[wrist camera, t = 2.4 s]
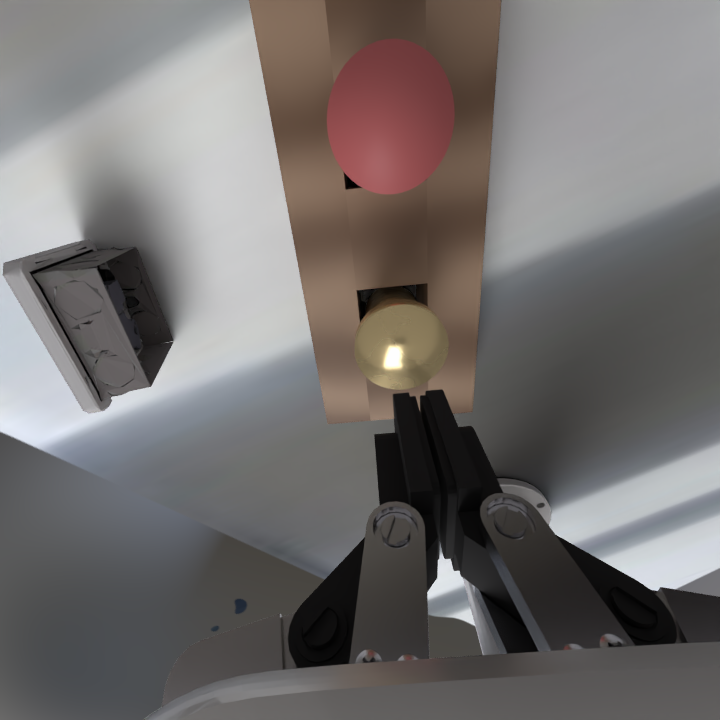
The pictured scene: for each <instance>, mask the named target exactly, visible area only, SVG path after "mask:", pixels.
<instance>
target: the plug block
mask: <svg viewBox="0 0 720 720" xmlns="http://www.w3.org/2000/svg"><path fill="white" fill-rule="evenodd" d="M249 3H250V8H251V13H252V19H253V24H254V30H255V35H256V40H257V46H258V51H259V57H260V62H261V67H262V73H263V78H264V83H265V89H266V94H267V100H268V105H269V110H270V116H271V121H272V127H273V132H274V137H275V143H276V148H277V153H278V159H279V164H280V170H281V175H282V180H283V186H284V191H285V197H286V202H287V207H288V213H289V218H290V223H291V229H292V234H293V240H294V245H295V250H296V256H297V261H298V267H299V272H300V277H301V283H302V288H303V293H304V299H305V304H306V310H307V315H308V320H309V326H310V331H311V337H312V342H313V347H314V353H315V358H316V363H317V369H318V374H319V380H320V385H321V390H322V396H323V401H324V407H325V412H326V417H327V423H328V424H336V423H348V422H359V421H371V420H383V419H394V410H393V394H395V393H406V392H409V395H410V396H416V399H417V403H418V407H419V410H420V395H425V392H426V391H428V390H439V389H442V390H443V391H444V393H445V396H446V398H447V401H448V403H449V406H450V408H451V411H452V413H453V414H455V413H467V412H472V411H473V397H474V382H475V368H476V354H477V340H478V325H479V311H480V297H481V283H482V268H483V254H484V240H485V226H486V211H487V197H488V183H489V169H490V154H491V140H492V126H493V111H494V97H495V83H496V69H497V54H498V40H499V26H500V12H501V0H249ZM385 39H402V40H407V41H410V42H413V43H415V44H417V45H419V46H421V47H423V48H424V49H425V50H427V51H428V52H429V53H430V54H431V55H432V56H433V57H434V58H435V59H436V60H437V61H438V63H439V64H440V65H441V67H442V68H443V70H444V72H445V74H446V76H447V78H448V81H449V83H450V86H451V90H452V94H453V99H454V111H455V117H454V128H453V133H452V137H451V141H450V144H449V147H448V149H447V151H446V154H445V156H444V158H443V159H442V161H441V163H440V164H439V166H438V167H437V168H436V170H435V171H434V172H433V173H432V174H431V175H430V176H429V177H428V178H427V179H426V180H425V181H424V182H422V183H421V184H419V185H418V186H416V187H414V188H412V189H410V190H408V191H405V192H402V193H397V194H378V193H374V192H371V191H368V190H366V189H364V188H362V187H351V188H348V184H347V175H346V174H345V173H344V171H343V170H342V169H341V167H340V166H339V164H338V162H337V160H336V159H335V156H334V154H333V152H332V149H331V145H330V142H329V137H328V131H327V109H328V102H329V98H330V94H331V90H332V88H333V85H334V83H335V80H336V78H337V76H338V75H339V73H340V71H341V70H342V68H343V67H344V65H345V64H346V63H347V62H348V61H349V59H350V58H351V57H352V56H353V55H354V54H356V53H357V52H358V51H359V50H361V49H362V48H364V47H366V46H367V45H369V44H371V43H374V42H376V41H380V40H385ZM414 284H416V301H417V302H420V303H422V304H424V305H426V306H427V307H429V308H430V309H431V310H432V311H433V312H434V313H435V314H436V315H437V316H438V318H439V319H440V321H441V323H442V324H443V326H444V328H445V330H446V333H447V336H448V342H449V348H448V354H447V358H446V360H445V362H444V364H443V366H442V368H441V369H440V370H439V372H438V373H437V374H436V375H435V376H434V377H433V378H431V379H430V380H429V381H427V382H425V383H424V384H422V385H419V386H417V387H414V388H410V389H403V390H395V389H388V388H384V387H381V386H379V385H377V384H375V383H373V382H372V381H370V380H369V379H368V378H367V377H366V376H365V375H364V374H363V373H362V372H361V370H360V368H359V367H358V365H357V362H356V358H355V335H356V331H357V328H358V326H359V324H360V322H361V320H362V316H361V307H360V297H359V290H365V289H375V288H385V287H395V286H404V285H414Z"/></svg>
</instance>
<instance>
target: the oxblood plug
mask: <svg viewBox="0 0 720 720" xmlns="http://www.w3.org/2000/svg"><path fill="white" fill-rule="evenodd" d="M454 117H455V111H454V99H453V94H452V90H451V86H450V83H449V81H448V78H447V76H446V74H445V72H444V70H443V68H442V67H441V65H440V64H439V63H438V61H437V60H436V59H435V58H434V57H433V56H432V55H431V54H430V53H429V52H428V51H427V50H425V49H424V48H423V47H421V46H419V45H417V44H415V43H413V42H410V41H407V40H402V39H385V40H380V41H376V42H374V43H371V44H369V45H367V46H366V47H364V48H362V49H361V50H359V51H358V52H357V53H356V54H354V55H353V56H352V57H351V58H350V59H349V61H348V62H347V63H346V64H345V65H344V67H343V68H342V70H341V71H340V73H339V75H338V76H337V78H336V80H335V83H334V85H333V88H332V90H331V94H330V98H329V102H328V109H327V131H328V137H329V142H330V145H331V149H332V152H333V154H334V156H335V159H336V160H337V162H338V164H339V166H340V167H341V169H342V170H343V171H344V173H345V174H346V175H347V176H348V177H349V178H350V179H351V180H352V181H353V182H355V183H356V184H357V185H359V186H360V187H362V188H364V189H366V190H368V191H371V192H374V193H378V194H397V193H402V192H405V191H408V190H410V189H412V188H414V187H416V186H418V185H419V184H421V183H422V182H424V181H425V180H426V179H427V178H428V177H429V176H430V175H431V174H432V173H433V172H434V171H435V170H436V168H437V167H438V166H439V164H440V163H441V161H442V159H443V158H444V156H445V154H446V151H447V149H448V147H449V144H450V141H451V137H452V133H453V128H454Z"/></svg>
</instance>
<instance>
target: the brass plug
mask: <svg viewBox="0 0 720 720" xmlns="http://www.w3.org/2000/svg"><path fill="white" fill-rule="evenodd" d="M448 348H449V342H448V336H447V333H446V330H445V328H444V326H443V324H442V323H441V321H440V319H439V318H438V316H437V315H436V314H435V313H434V312H433V311H432V310H431V309H430V308H429V307H427V306H426V305H424V304H422V303H420V302H417V301H416V300H415V298H414V296H413V295H412V293H411V292H410V291H409V290H407V289H406V288H404V287H401V286H395V287H385V288H379V289H377V290H376V291H375V292H374V293H373V294H372V295H371V296H370V297H369V299H368V301H367V304H366V315H365V316H364V318H363V319H362V320H361V322H360V324H359V326H358V328H357V331H356V335H355V358H356V362H357V365H358V367H359V368H360V370H361V372H362V373H363V374H364V375H365V376H366V377H367V378H368V379H369V380H370V381H372V382H373V383H375V384H377V385H379V386H381V387H384V388H388V389H395V390H403V389H410V388H414V387H417V386H419V385H422V384H424V383H425V382H427V381H429V380H430V379H431V378H433V377H434V376H435V375H436V374H437V373H438V372H439V370H440V369H441V368H442V366H443V364H444V362H445V360H446V358H447V354H448Z"/></svg>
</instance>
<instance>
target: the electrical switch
mask: <svg viewBox="0 0 720 720" xmlns="http://www.w3.org/2000/svg"><path fill="white" fill-rule="evenodd" d="M118 261H120V262H119V263H117V262H118ZM135 267H136V268H135ZM109 268H110V270H109ZM138 269H139V270H138ZM3 276H4V278H5V279H6V281H7V283H8V285H9V286H10V288H11V290H12V291H13V293H14V295H15V296H16V298H17V300H18V301H19V303H20V305H21V306H22V308H23V310H24V312H25V313H26V315H27V317H28V318H29V320H30V322H31V323H32V325H33V327H34V328H35V330H36V332H37V333H38V335H39V337H40V339H41V340H42V342H43V344H44V345H45V347H46V349H47V350H48V352H49V354H50V355H51V357H52V359H53V360H54V362H55V364H56V366H57V367H58V369H59V371H60V372H61V374H62V376H63V377H64V379H65V381H66V382H67V384H68V386H69V387H70V389H71V391H72V393H73V394H74V396H75V398H76V399H77V401H78V403H79V404H80V406H81V408H82V409H83V411H85V412H87V413H95V412H100V411H104V410H105V409H107V408H108V407H109V405H110V403H111V401H112V400H111V397H112V396H118V395H122V394H125V393H127V392H129V391H132V390H137V389H142V388H147V387H151V386H152V384H153V382H154V380H155V378H156V376H157V374H158V372H159V370H160V368H161V366H162V364H163V362H164V360H165V358H166V356H167V354H168V352H169V350H170V348H171V346H172V344H173V342H170V341H173V340H172V337H171V335H170V332H169V329H168V327H167V324H166V322H165V319H164V317H163V314H162V312H161V309H160V307H159V304H158V301H157V299H156V296H155V294H154V291H153V289H152V286H151V284H150V281H149V278H148V276H147V273H146V271H145V268H144V266H143V263H142V261H141V258H140V255H139V253H138V250H137V248H135V247H133V248H126V249H116V248H114V247H113V248H111V249H107V250H99V251H98V250H97V248H96V246H95V244H93V243H92V242H91V241H90V240H84V241H79V242H74V243H71V244H67V245H64V246H60V247H57V248H54V249H50V250H47V251H43V252H40V253H36V254H33V255H29V256H26V257H23V258H19V259H16V260H12V261H9V262H5V263H4V266H3ZM141 281H142V283H141ZM140 283H141V284H140ZM121 288H122V289H135V288H136V289H135V290H131V291H128V290H122V289H121ZM122 291H123V292H122ZM129 296H135V297H136V298H137V299H138V300H139V305H138V306H135V307H132V308H129V309H128V308H127V305H126V302H125V300H126V299H125V297H129ZM141 310H145V311H147V312H145V311H143V312H139V313H136V314H133V313H135V312H137V311H141ZM132 314H133V316H132ZM131 316H132V319H131ZM157 317H158V318H159V319H158V318H157ZM157 332H158V333H157ZM155 333H156V334H155ZM140 339H142V342H141V340H140ZM166 342H169V343H166ZM161 343H162V344H161Z"/></svg>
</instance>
